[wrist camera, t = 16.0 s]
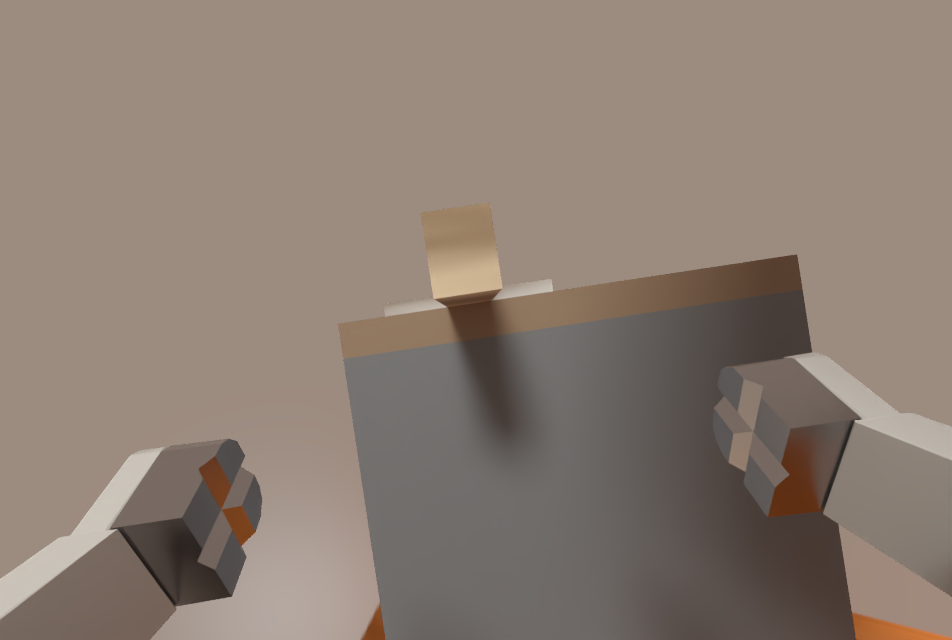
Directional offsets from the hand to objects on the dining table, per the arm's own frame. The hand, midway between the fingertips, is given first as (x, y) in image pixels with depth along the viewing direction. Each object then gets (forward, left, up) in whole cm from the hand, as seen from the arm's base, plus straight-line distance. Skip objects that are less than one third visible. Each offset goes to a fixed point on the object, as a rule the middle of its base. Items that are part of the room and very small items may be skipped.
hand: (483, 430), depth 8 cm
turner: (0, -17, +3) cm, 17 cm away
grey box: (-5, -22, -23) cm, 32 cm away
